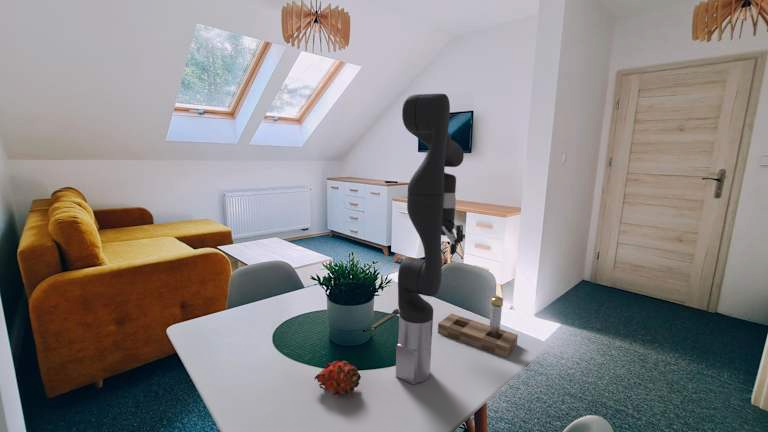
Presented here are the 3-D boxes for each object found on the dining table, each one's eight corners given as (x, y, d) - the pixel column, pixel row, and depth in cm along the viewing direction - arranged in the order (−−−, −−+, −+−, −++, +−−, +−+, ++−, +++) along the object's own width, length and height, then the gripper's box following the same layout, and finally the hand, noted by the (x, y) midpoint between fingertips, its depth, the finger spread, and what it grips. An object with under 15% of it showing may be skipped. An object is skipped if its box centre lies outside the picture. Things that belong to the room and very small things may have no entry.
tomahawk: (376, 339, 119) (376, 336, 118) (361, 331, 122) (361, 328, 122) (409, 316, 135) (410, 314, 135) (395, 310, 139) (396, 308, 139)
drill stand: (506, 357, 108) (507, 347, 107) (437, 332, 122) (438, 323, 122) (516, 344, 116) (517, 334, 115) (450, 322, 130) (451, 313, 129)
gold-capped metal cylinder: (496, 348, 113) (500, 301, 110) (485, 344, 115) (489, 298, 112) (500, 344, 116) (504, 298, 113) (489, 340, 118) (493, 295, 115)
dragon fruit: (363, 399, 90) (318, 402, 91) (364, 366, 96) (321, 369, 97) (357, 388, 84) (308, 391, 85) (358, 353, 90) (313, 356, 91)
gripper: (420, 204, 119) (418, 250, 122) (458, 208, 111) (455, 258, 114) (431, 202, 125) (428, 246, 128) (468, 206, 117) (465, 253, 120)
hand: (441, 251), depth 121 cm, fingers open, 8 cm apart
